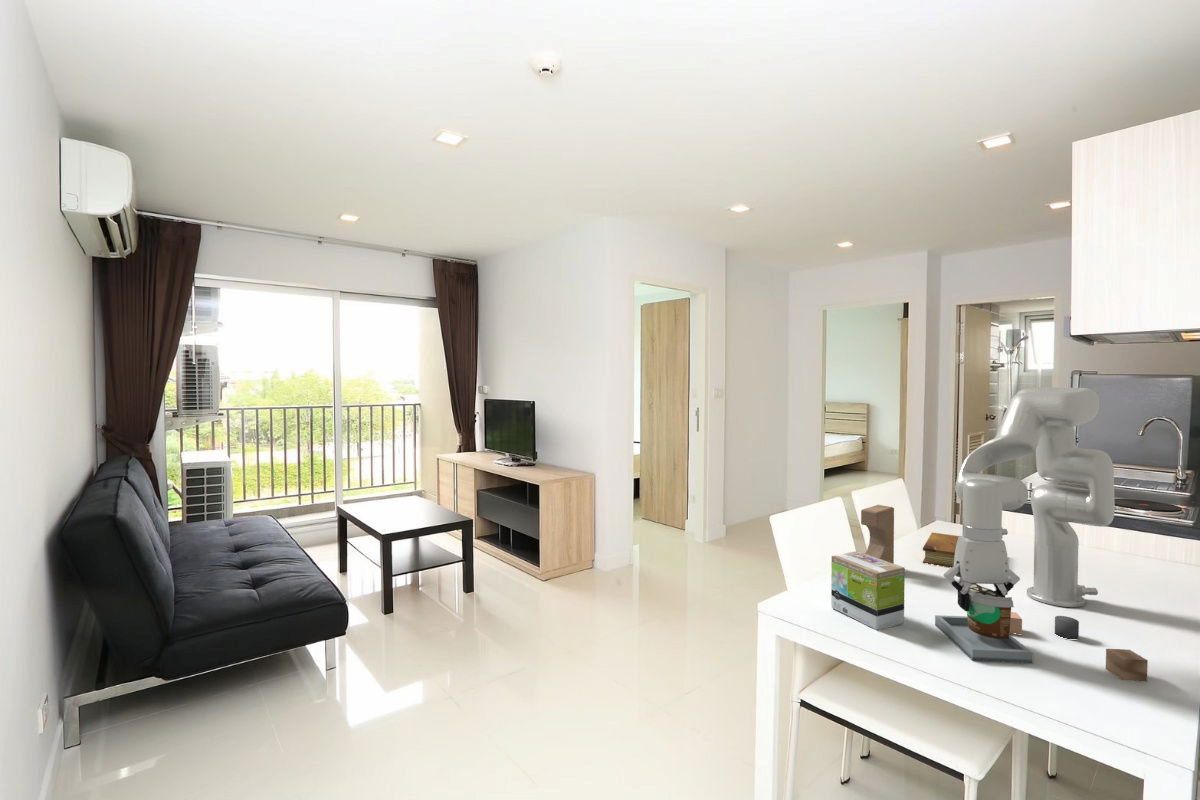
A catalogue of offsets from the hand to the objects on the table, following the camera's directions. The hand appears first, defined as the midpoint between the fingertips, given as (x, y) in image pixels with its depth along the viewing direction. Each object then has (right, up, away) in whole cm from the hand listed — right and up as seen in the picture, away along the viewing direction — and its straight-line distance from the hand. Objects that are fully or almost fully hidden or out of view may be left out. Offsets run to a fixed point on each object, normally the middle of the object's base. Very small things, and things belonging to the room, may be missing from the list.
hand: (980, 608), depth 132 cm
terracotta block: (+11, -8, +7) cm, 15 cm away
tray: (0, -8, 0) cm, 8 cm away
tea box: (-19, -8, +16) cm, 26 cm away
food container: (0, -5, 0) cm, 5 cm away
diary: (+33, -6, +60) cm, 69 cm away
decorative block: (+1, -6, +51) cm, 51 cm away
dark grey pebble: (+23, -8, +3) cm, 24 cm away
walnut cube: (+20, -8, -15) cm, 26 cm away
